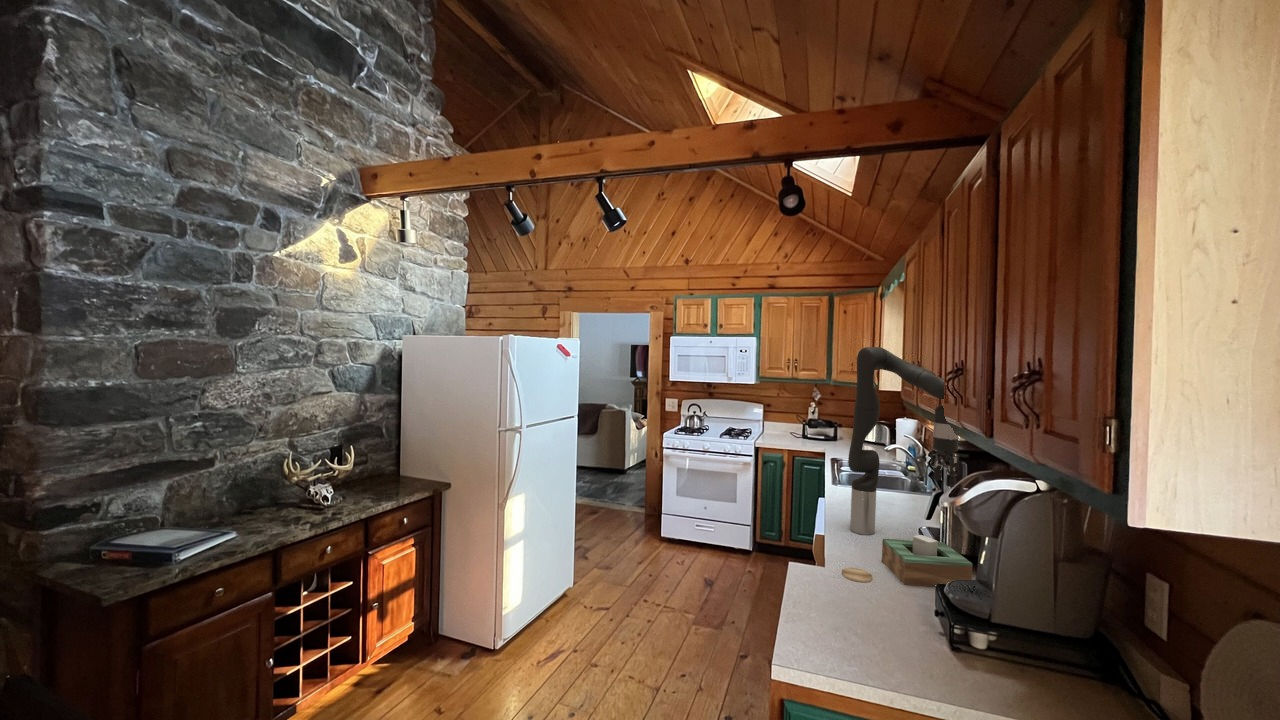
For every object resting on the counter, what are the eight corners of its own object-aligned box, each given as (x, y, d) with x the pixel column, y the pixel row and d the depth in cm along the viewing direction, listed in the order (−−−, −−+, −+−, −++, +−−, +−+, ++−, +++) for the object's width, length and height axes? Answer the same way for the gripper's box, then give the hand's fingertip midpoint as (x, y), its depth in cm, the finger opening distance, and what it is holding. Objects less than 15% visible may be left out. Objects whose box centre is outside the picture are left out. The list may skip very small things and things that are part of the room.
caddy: (881, 561, 177) (882, 538, 177) (941, 565, 175) (942, 542, 175) (904, 584, 159) (905, 559, 159) (971, 589, 157) (972, 563, 157)
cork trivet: (838, 569, 169) (838, 566, 169) (866, 571, 168) (866, 568, 168) (847, 581, 160) (847, 578, 160) (876, 583, 159) (876, 580, 159)
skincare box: (911, 571, 169) (912, 535, 169) (919, 569, 171) (921, 534, 171) (927, 579, 163) (929, 542, 163) (936, 577, 165) (938, 540, 165)
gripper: (924, 432, 183) (922, 477, 183) (944, 439, 169) (942, 488, 169) (946, 433, 182) (944, 478, 183) (968, 440, 168) (966, 489, 168)
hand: (943, 483), depth 176 cm, fingers open, 8 cm apart
